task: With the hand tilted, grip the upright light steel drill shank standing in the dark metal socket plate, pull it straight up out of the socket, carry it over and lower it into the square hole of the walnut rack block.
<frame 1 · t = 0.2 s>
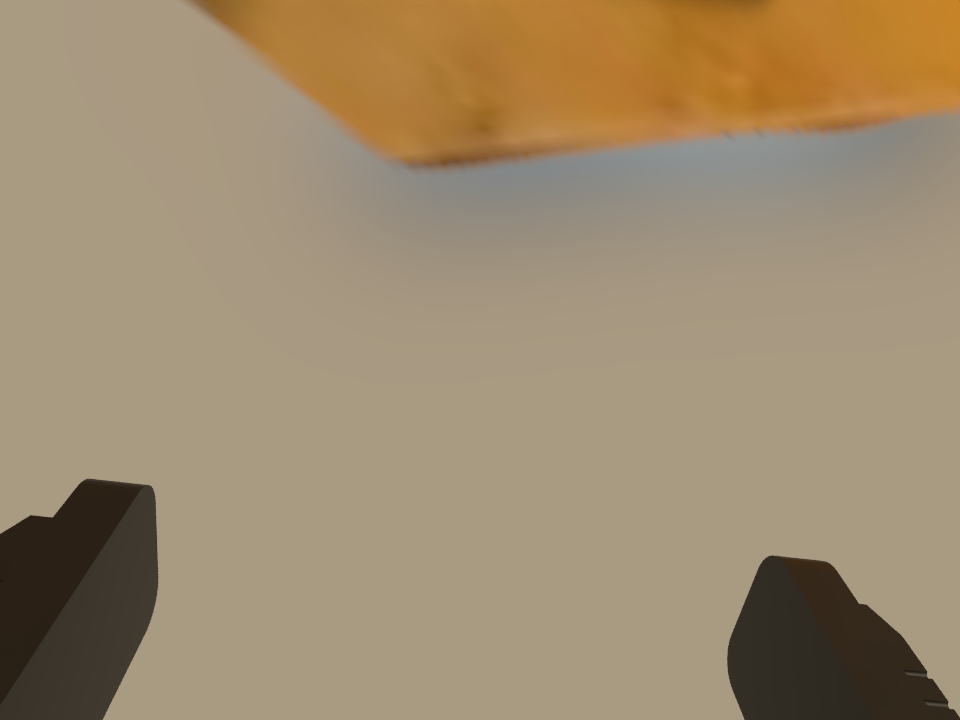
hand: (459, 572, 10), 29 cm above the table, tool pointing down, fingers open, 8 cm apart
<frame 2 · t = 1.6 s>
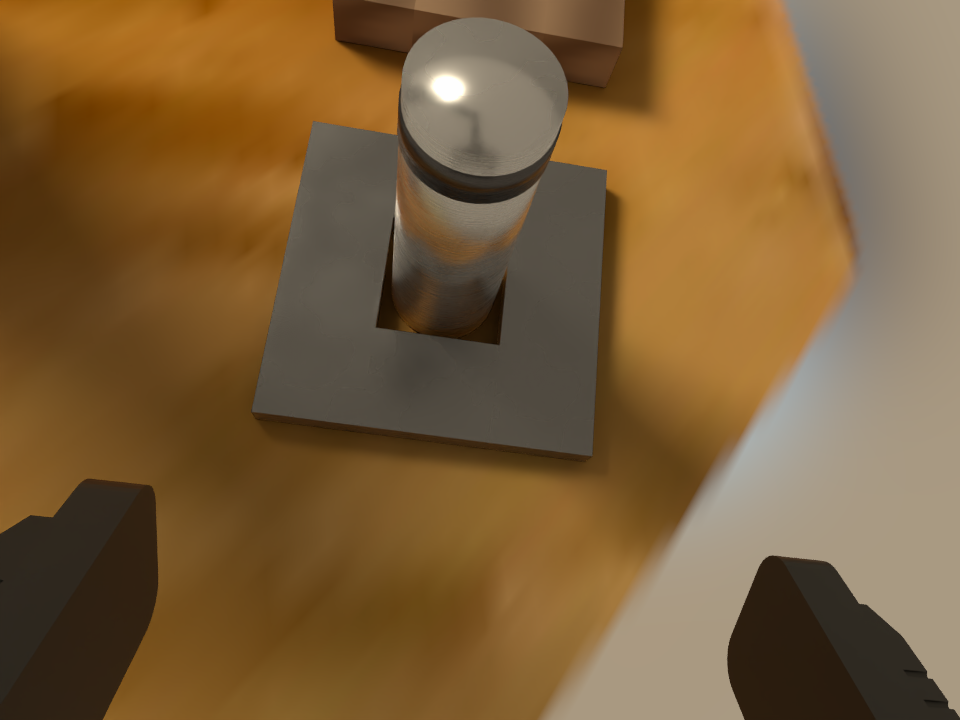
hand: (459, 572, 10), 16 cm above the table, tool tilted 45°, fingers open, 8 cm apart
drill shank: (459, 212, 23), in the socket plate
socket plate: (443, 290, 29), on the table
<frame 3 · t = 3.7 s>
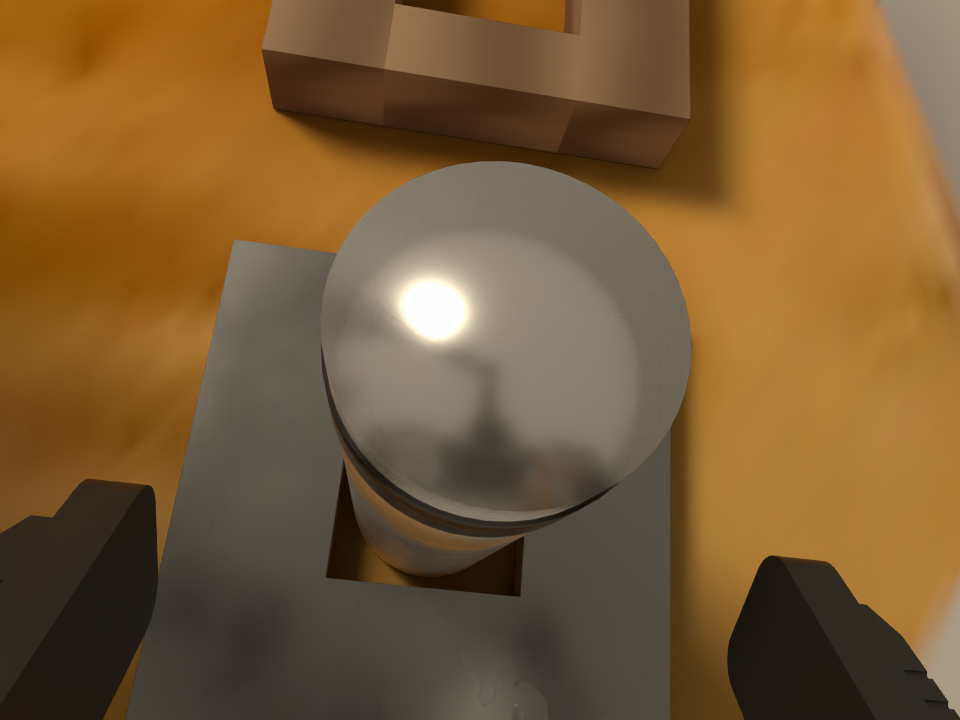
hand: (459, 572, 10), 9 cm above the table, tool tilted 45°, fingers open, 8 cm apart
rack: (484, 13, 25), on the table
drill shank: (455, 445, 14), in the socket plate
socket plate: (431, 496, 19), on the table
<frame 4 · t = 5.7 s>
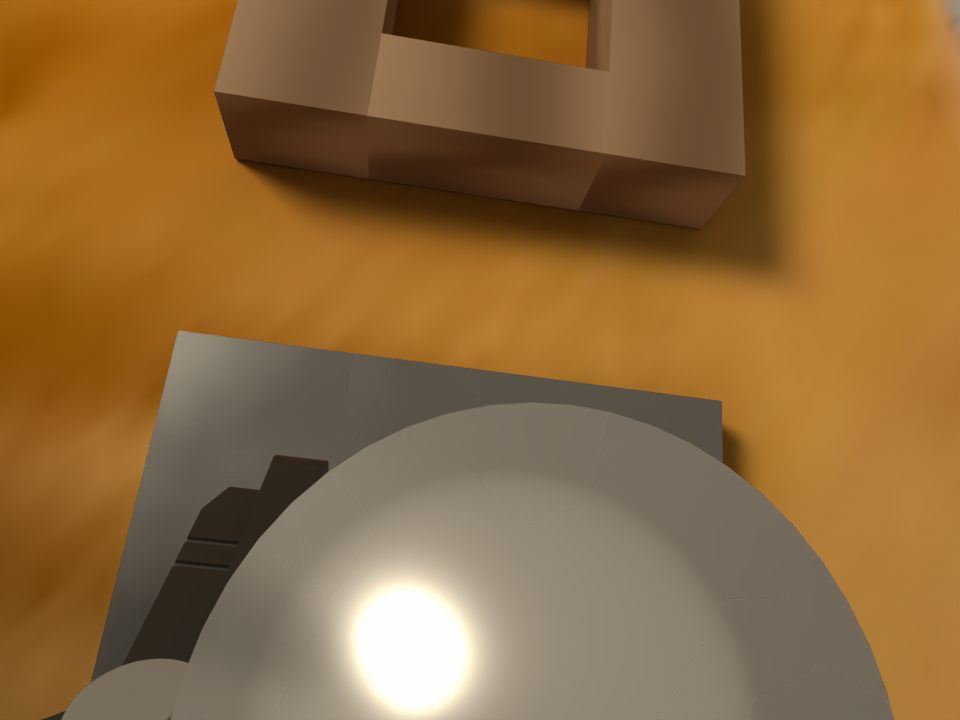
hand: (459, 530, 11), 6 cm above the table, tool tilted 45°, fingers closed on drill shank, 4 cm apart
rack: (491, 39, 21), on the table
drill shank: (449, 680, 10), in the socket plate, touching gripper
socket plate: (424, 658, 15), on the table
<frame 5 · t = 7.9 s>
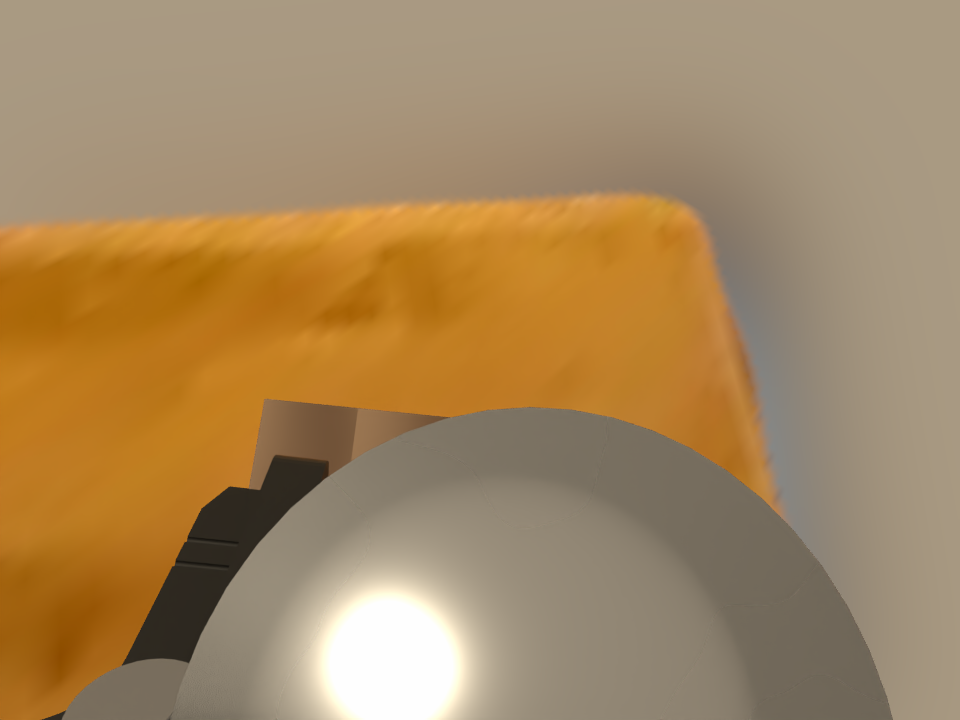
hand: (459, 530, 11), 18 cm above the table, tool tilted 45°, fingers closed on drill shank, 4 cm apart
rack: (416, 563, 28), on the table
drill shank: (449, 683, 10), point 18 cm above the table, touching gripper
when the fingers open (7 cm above the table, at t = 10.6 s): drill shank drops 1 cm, resting in rack.
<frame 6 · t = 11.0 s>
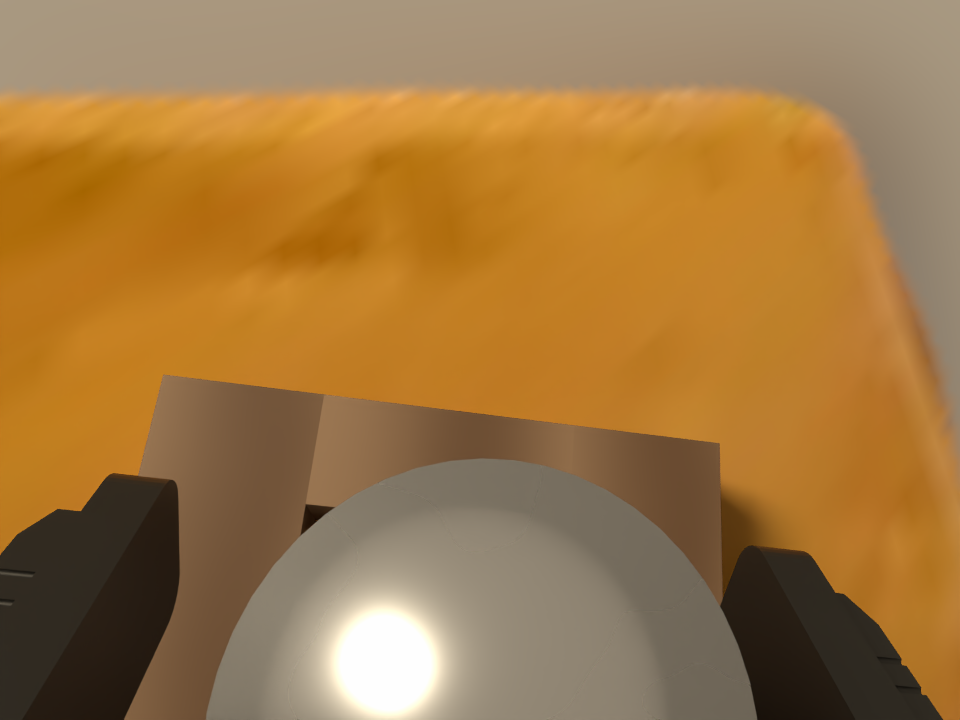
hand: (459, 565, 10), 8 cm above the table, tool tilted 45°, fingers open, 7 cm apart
rack: (417, 655, 17), on the table
drill shank: (433, 677, 11), in the rack
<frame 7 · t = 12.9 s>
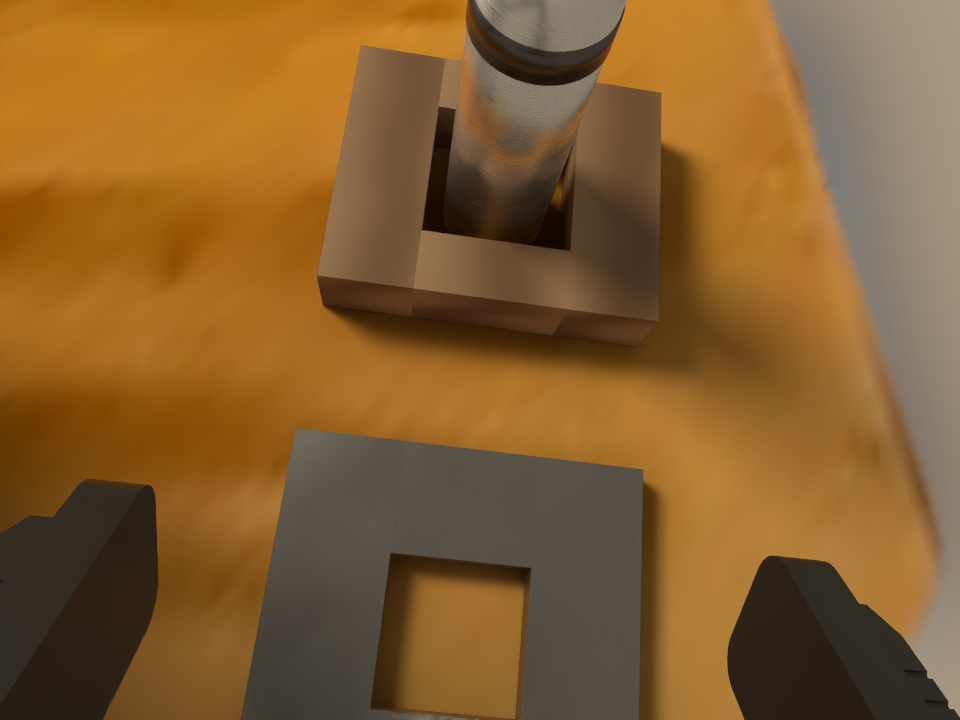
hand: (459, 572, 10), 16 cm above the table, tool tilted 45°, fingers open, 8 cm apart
rack: (494, 212, 30), on the table
drill shank: (516, 118, 24), in the rack
socket plate: (451, 635, 24), on the table
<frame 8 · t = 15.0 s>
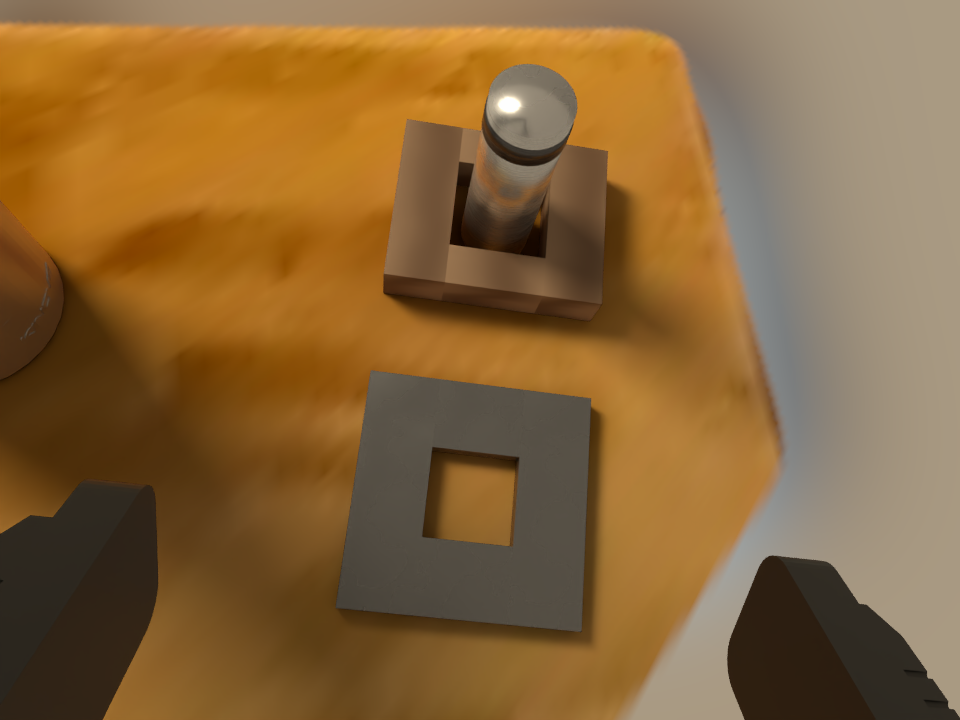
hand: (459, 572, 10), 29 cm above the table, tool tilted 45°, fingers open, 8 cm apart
rack: (495, 230, 44), on the table
drill shank: (510, 176, 39), in the rack
socket plate: (469, 499, 39), on the table
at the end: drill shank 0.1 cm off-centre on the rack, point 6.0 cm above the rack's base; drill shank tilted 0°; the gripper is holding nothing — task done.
